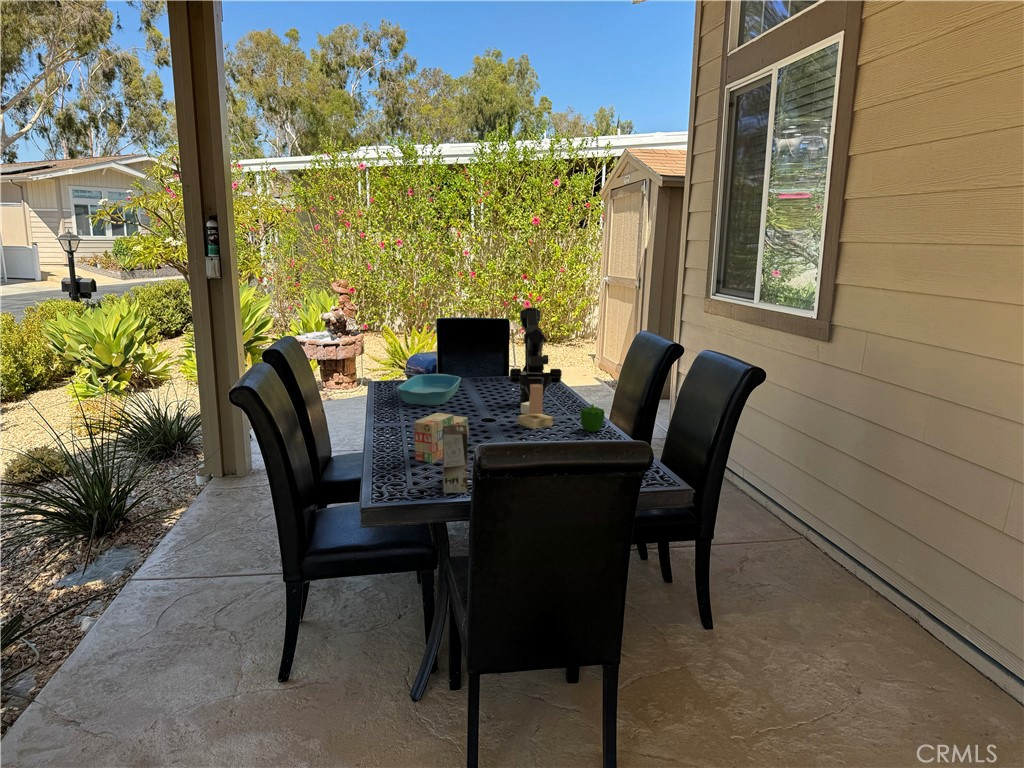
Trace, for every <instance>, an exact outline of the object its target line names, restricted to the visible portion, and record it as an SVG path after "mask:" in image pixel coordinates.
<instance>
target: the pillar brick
mask: <svg viewBox="0 0 1024 768" xmlns="http://www.w3.org/2000/svg"><path fill="white" fill-rule="evenodd" d="M543 402H544V396H543V383H542V384H530V396H529V412H530V414H543Z"/></svg>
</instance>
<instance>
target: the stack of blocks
mask: <svg viewBox="0 0 1024 768" xmlns="http://www.w3.org/2000/svg"><path fill="white" fill-rule="evenodd" d="M451 425H466V428H467V433H468V436H467V444H469V443H470V442H469V441H470V439H469V437H470V436H469V435H470V434H469V433H470V432H469V431H470V428H469V427H470V426H469V417H465V416H459V415H454V414H450V413H441V412H436V413H433V414H430V415H428V416H426V417H423V418H420V419H418V420H415V421H414V447H415V448H414V459H415V461H418V462H424V463H430V464H433V463H435V462H437V461H439V459H440V460H442V459H443V458H442V457H443V426H451ZM441 458H442V459H441Z"/></svg>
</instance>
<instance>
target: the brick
mask: <svg viewBox="0 0 1024 768" xmlns="http://www.w3.org/2000/svg"><path fill="white" fill-rule="evenodd" d="M520 413H521V415H525V414H530V412H529V402H525V403H520Z"/></svg>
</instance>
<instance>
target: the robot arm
mask: <svg viewBox="0 0 1024 768" xmlns="http://www.w3.org/2000/svg"><path fill="white" fill-rule="evenodd" d="M541 313H542V312H541V310H540V309H538V308H537V307H526V308H524V309H522V310H520V311H519V321H520V323H521V327H522V329H523V331H524V333H523V344H524V345H525V346H524V347H525V348H524V350H525V351H524V352H525V353H524V357H525V359H524V361H525V362H524V363H525V364H524V366H523V368H510V370H509V382H510V383H511V384H512V383H514V384H515V383H518V384H519V390H520V391H521V392H520V401H518V403H519V404H521V403H525V402H529V396H530V384H542V385H543V397H544V396H545V392H546V390H547V388H548V386H549V385H551V384H560V383H561V381H562V380H561V379H562V376H563V375H562V374H563V373H562V371H563V370H562V369H560V368H550V370H549V372H544V371H545V366H544V365H549V355H548V354H543V349H544V344H546V342H547V338H546V337H547V336H545V334H544V333H543V329H542V328H541V327H539V322H541V316H542V315H541Z"/></svg>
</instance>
